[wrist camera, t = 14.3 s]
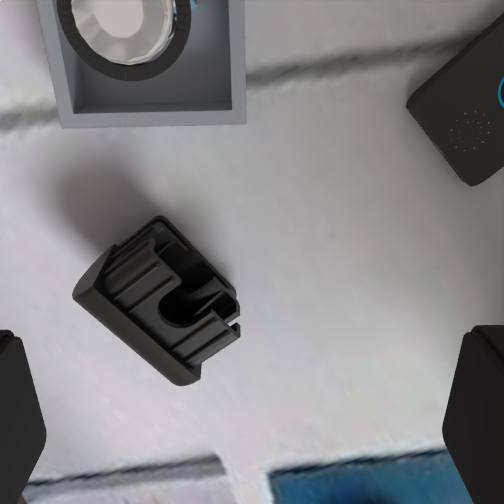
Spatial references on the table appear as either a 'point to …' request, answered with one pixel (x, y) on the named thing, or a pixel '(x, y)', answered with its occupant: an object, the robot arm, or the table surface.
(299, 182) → the table surface
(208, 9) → the rectangular tray
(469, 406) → the robot arm
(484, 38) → the smart home device
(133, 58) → the push button
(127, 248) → the end cap
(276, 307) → the table surface
